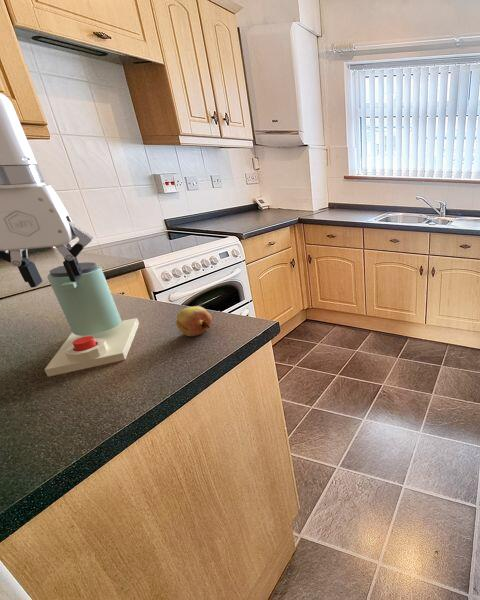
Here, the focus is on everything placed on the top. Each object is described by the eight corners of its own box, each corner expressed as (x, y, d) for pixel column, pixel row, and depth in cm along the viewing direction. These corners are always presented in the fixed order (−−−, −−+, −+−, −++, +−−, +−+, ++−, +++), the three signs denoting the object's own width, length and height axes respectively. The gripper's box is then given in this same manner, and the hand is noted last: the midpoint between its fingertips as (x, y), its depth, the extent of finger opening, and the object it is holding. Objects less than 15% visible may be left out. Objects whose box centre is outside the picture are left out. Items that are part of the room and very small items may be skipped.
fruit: (160, 312, 76) (184, 322, 71) (188, 295, 81) (212, 303, 76) (176, 335, 80) (200, 345, 75) (202, 317, 85) (226, 326, 80)
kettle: (115, 333, 72) (91, 272, 66) (64, 343, 68) (34, 279, 63) (126, 311, 82) (106, 257, 77) (82, 319, 79) (57, 262, 73)
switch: (94, 349, 67) (91, 341, 66) (73, 353, 66) (69, 345, 65) (98, 342, 70) (95, 334, 69) (78, 345, 68) (75, 338, 68)
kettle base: (125, 360, 69) (119, 345, 68) (47, 377, 64) (39, 361, 62) (139, 324, 84) (134, 311, 82) (77, 335, 78) (71, 322, 77)
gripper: (-85, 181, 48) (-20, 298, 55) (70, 176, 55) (110, 280, 62) (-52, 178, 54) (3, 283, 61) (84, 174, 61) (118, 269, 69)
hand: (56, 281), depth 62 cm, fingers open, 4 cm apart
